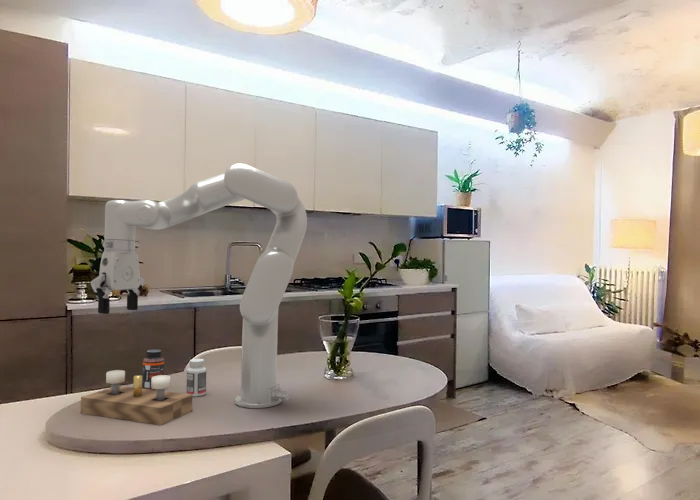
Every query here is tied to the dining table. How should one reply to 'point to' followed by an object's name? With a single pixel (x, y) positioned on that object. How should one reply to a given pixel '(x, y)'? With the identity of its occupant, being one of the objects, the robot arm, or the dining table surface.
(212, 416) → the dining table surface
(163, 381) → the knob near
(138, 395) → the brass stem
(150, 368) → the supplement bottle
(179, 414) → the mount
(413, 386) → the dining table surface
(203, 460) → the dining table surface
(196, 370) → the pill bottle
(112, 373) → the knob far
